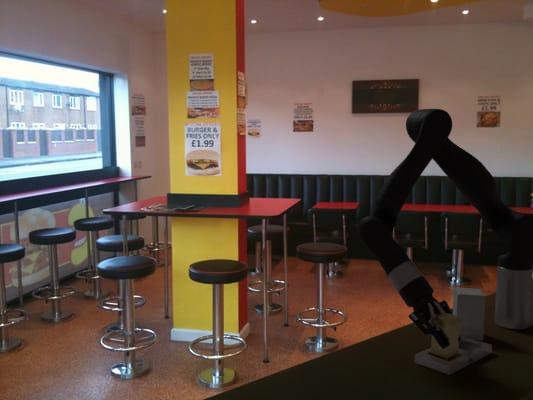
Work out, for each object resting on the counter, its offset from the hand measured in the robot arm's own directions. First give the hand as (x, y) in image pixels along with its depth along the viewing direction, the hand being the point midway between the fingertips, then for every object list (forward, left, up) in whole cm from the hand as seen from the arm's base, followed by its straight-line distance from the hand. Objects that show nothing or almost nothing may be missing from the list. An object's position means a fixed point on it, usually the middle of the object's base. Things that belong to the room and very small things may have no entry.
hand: (452, 343), depth 128 cm
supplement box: (-16, -19, -6) cm, 26 cm away
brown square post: (+1, -2, -5) cm, 5 cm away
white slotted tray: (-3, -4, -6) cm, 8 cm away
